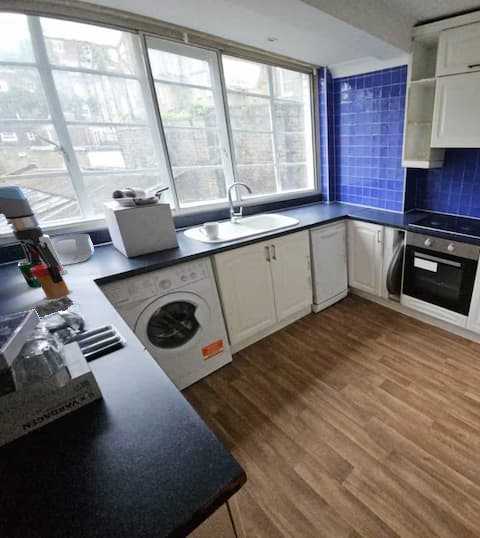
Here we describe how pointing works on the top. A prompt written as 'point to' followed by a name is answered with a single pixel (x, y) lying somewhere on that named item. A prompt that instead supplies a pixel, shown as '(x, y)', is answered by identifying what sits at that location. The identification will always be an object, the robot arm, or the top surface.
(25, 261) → the soda can
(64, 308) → the egg carton
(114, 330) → the top surface
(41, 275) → the lid
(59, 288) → the jar
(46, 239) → the milk
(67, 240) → the bowl
